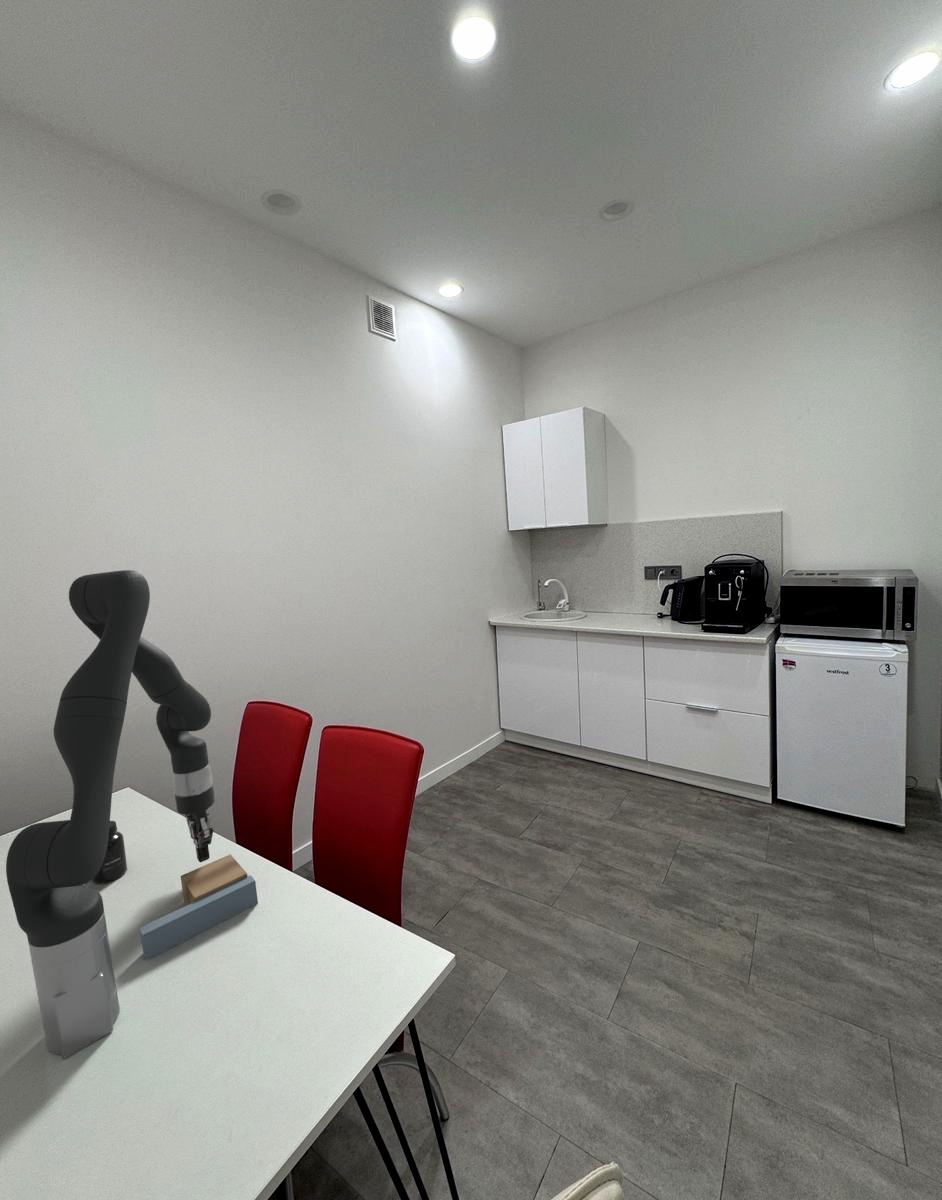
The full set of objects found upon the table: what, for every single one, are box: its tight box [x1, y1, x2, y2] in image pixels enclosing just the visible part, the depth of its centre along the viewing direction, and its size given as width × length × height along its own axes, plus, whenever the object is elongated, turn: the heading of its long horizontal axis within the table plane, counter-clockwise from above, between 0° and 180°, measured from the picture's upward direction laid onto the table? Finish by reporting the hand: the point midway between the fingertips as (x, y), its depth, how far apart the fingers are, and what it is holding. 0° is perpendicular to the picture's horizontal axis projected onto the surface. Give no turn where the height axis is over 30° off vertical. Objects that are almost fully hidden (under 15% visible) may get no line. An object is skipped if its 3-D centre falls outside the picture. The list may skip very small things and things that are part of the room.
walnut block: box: [180, 854, 249, 906], centre depth 109 cm, size 10×10×6 cm
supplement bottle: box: [91, 820, 128, 885], centre depth 120 cm, size 7×7×12 cm
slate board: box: [139, 875, 259, 961], centre depth 102 cm, size 2×20×5 cm, turn 133°
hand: (203, 859), depth 118 cm, fingers closed
